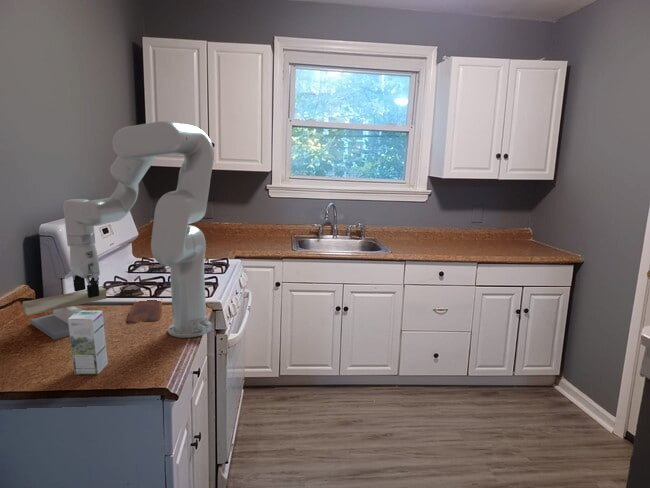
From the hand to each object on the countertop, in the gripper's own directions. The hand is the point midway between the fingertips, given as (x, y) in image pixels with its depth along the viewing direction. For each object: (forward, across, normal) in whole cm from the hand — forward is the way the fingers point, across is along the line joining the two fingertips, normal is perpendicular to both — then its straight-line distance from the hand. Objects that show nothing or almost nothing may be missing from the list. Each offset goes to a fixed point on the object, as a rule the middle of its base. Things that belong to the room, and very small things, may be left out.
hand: (86, 293), depth 138 cm
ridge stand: (+9, 0, +6) cm, 11 cm away
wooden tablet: (+10, -4, -17) cm, 20 cm away
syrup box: (+9, -34, +14) cm, 38 cm away
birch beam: (+2, 0, +6) cm, 6 cm away
